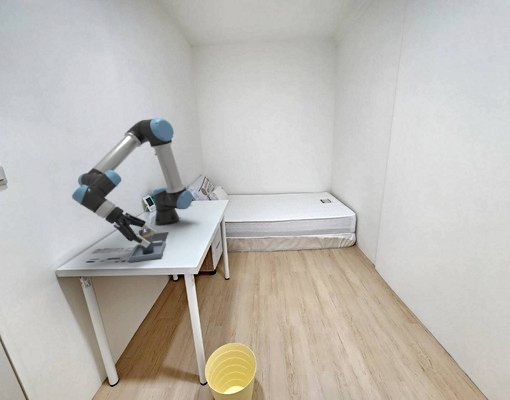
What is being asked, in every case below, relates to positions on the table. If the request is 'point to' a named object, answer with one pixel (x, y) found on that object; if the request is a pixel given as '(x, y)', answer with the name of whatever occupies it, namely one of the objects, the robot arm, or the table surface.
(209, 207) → the table surface
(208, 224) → the table surface
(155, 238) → the dark grey pad
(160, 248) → the tray
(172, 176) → the robot arm
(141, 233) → the battery cell
